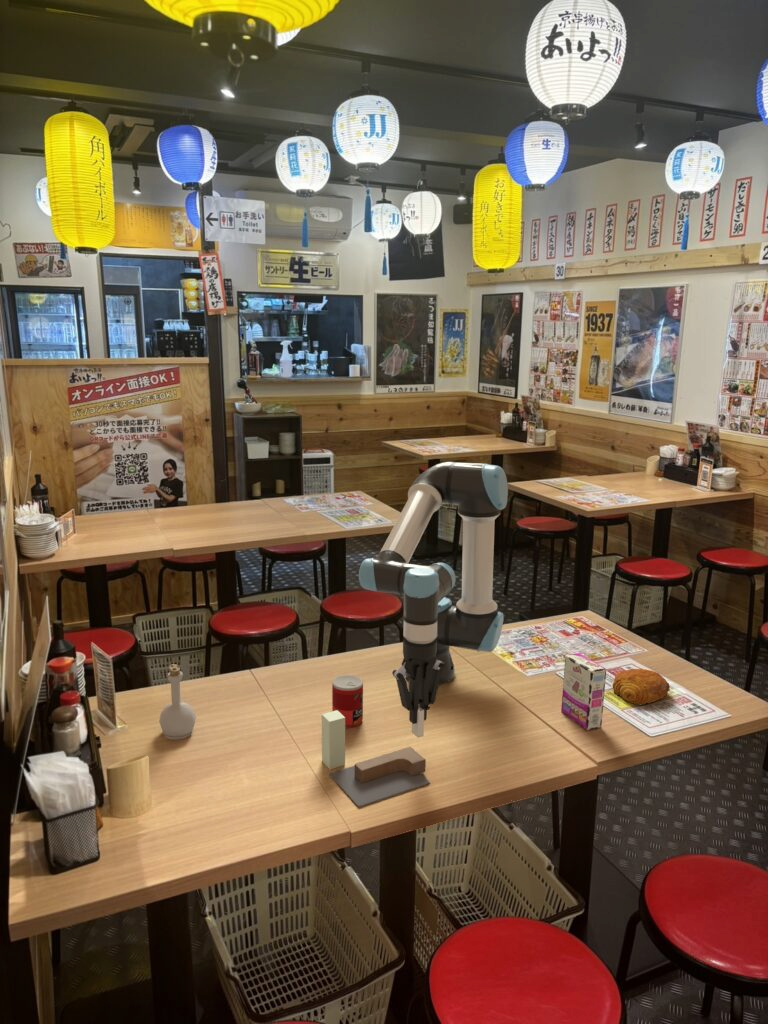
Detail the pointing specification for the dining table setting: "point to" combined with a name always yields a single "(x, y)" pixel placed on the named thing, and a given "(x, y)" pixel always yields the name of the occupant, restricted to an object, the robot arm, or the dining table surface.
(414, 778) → the mat
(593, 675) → the candy bar box
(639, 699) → the croissant
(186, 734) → the potion bottle
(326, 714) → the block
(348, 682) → the canned food
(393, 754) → the wooden block
